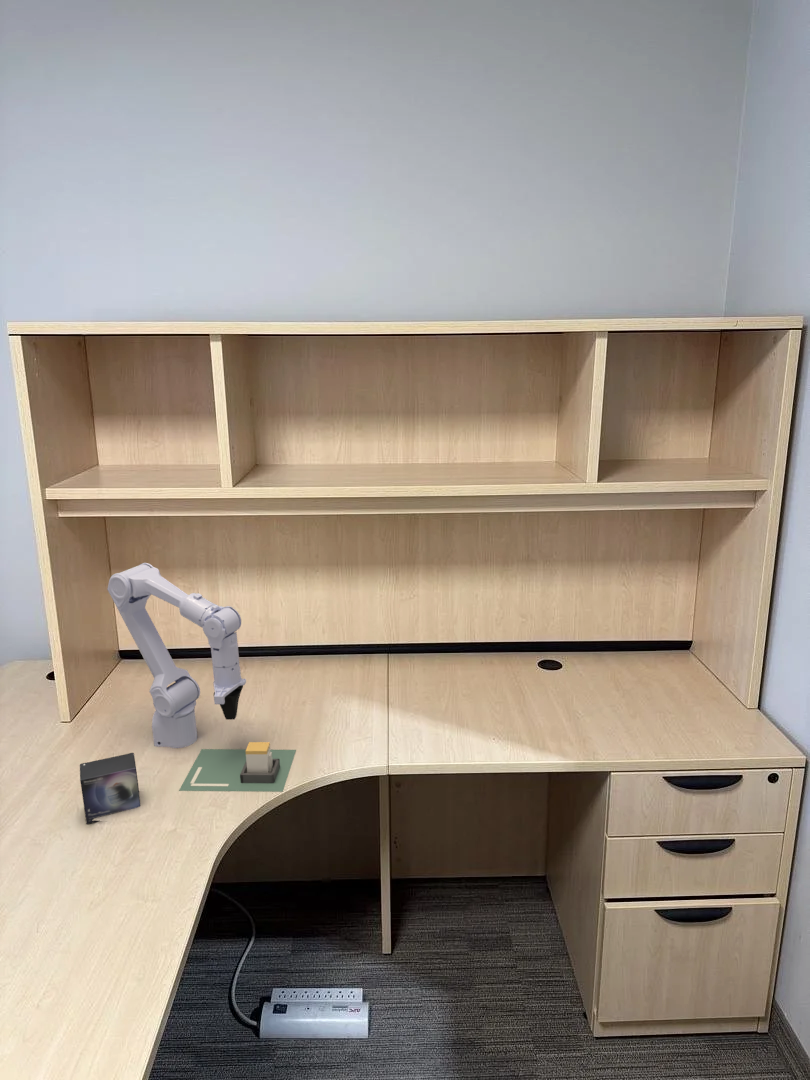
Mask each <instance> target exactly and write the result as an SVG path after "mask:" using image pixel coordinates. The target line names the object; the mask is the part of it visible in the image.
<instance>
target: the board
mask: <svg viewBox="0 0 810 1080" xmlns="http://www.w3.org/2000/svg"><path fill="white" fill-rule="evenodd" d="M246 749H247V748H246ZM246 749H244V748H240V749H239V748H238V749H237V748H231V749H229V748H201V749H200V751H199V753H198V755H197V757H196V759H195V760H194V762H193V763H192V766H191V768H190V769H189V771H188V773H187V775H186V777H185V778H184V780H183V783H182V784H181V785H180V788H179V789H178V792H257V793H258V792H260V793H262V792H264V793H265V792H266V793H267V792H269V793H274V792H275V793H282V792H283V791H284V789H285V785H286V783H287V779H288V777H289V773H290V771H291V768H292V764H293V761H294V758H295V755H296V752H297V749H270V751H271V752H272V761H273V770H272V773H247V763H246Z"/></svg>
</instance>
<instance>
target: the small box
mask: <svg viewBox="0 0 810 1080" xmlns="http://www.w3.org/2000/svg"><path fill="white" fill-rule="evenodd" d="M137 772H138V771H137V765H136V758H135V754H134V752H130V753H125V754H121V755H116V756H111V757H106V758H103V759H98V760H93V761H88V762H82V763H80V764H79V782H80V787H81V795H82V801H83V808H84V810H83V811H84V815H85V823H86V825H89V824H93V823H97V822H99V820H94V819H97V818H100V817H104V816H109V815H113V814H117V813H121V812H122V813H123V812H126V811H130V810H133V809H137V808H140V807H141V799H140V797H141V796H140V790H139V789H140V788H139V780H138V774H137Z"/></svg>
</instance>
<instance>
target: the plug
mask: <svg viewBox="0 0 810 1080" xmlns="http://www.w3.org/2000/svg"><path fill="white" fill-rule="evenodd" d="M270 750H271V742H270V741H268V742H267V741H265V742H264V741H255V742H254V741H249V742H248V744H247V747H246V763H247V773H272V770H273V761H272V752H271V751H270Z"/></svg>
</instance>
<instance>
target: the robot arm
mask: <svg viewBox="0 0 810 1080" xmlns="http://www.w3.org/2000/svg"><path fill="white" fill-rule="evenodd" d="M107 584H108V585H107V592H108V594H109V596H110V597H111V599H112V601H113V604H114V605H115V607H116V609H117V611H118V612H119V614H120V617H121V618H122V620H123V622H124V624H125V626H126V628H127V630H128V632H129V634H130V635H131V637H132V639H133V641H134V643H135V644H136V646H137V649H138V650H139V652H140V654H141V655H142V658H143V660H144V661H145V664H146V665H147V667H148V670H149V671H150V673H151V675H152V677H153V681H152V684H151V685H150V689H149V693H150V695H151V697H152V702H153V708H154V709H155V710H154V713H153V715H152V720H151V721H152V722H151V729H152V738H153V739H152V740H153V746H154V747H158V748H160V747H163V748H164V747H165V748H166V747H167V748H172V749H180V748H186V747H189V746H191V745H193V744H195V743H196V742H197V740H198V729H197V721H196V719H197V718H196V709H195V707H196V706H197V702H196V701H197V700H198V699H199V698H200V696H201V689H200V685H199V684H198V682H197V681H196V680H195V679H194V678H193V677H192V676H191V674H190V673H189V671H188V670H187V669H185V668H181V667H177V666H176V664H175V661H174V660H173V658H172V656H171V655H170V652H169V650H168V649H167V646H166V645H165V643H164V641H163V640H162V637H161V635H160V634H159V631H158V629H157V628H156V626H155V624H154V622H153V621H152V619H151V617H150V614H149V613H148V611H147V609H146V605H147V602H148V600H149V598H150V597H151V595H152V596H154V597H156V598H158V599H160V600H162V601H164V602H166V603H168V604H171V605H173V606H174V607H177V608H178V611H179V613H180V616H182V617H183V618H185V619H187V620H188V621H190V622H191V623H194V624H195V625H197V626H199V628H202V631H203V633H204V635H205V636H206V638H207V640H208V643H207V644H208V645H209V647H210V652H211V663H212V672H213V683H212V684H213V691H214V692H213V701H214V702H213V703H214V705H219V706H220V708H221V711H222V713H223V716H224V718H225V720H227V721H228V720H229V721H230V720H231V721H233V720H235V719H236V717H237V715H238V709H239V707H238V706H239V700H240V696H241V693H242V690H243V688H244V686H246V684H247V679H246V678H242V673H241V666H240V658H239V657H240V655H239V645H238V634H237V633H238V632H237V631H238V630H240V628H241V626H242V618H241V615H240V614H239V612H238V611H237V610H236V608H234V607H232V606H231V605H226V606H222V605H221V606H220V605H218V604H216V603H215V602H212V601H210V600H208V599H207V598H205V597H204V596H203V595H202V594H201V593H199V592H198V593H197V592H191V593H190V594H188V593H186V592H185V591H183V590H182V589H180V588H179V587H178V586H176V585H175V584H173V583H172V582H170V581H169V580H168V579H166V578H165V577H163V576H162V575H161V572H160V570H159V568H157V567H154V566H153V565H152V564H151V563H149V562H148V563H147V562H143V563H140V564H138V565H137V566H133V567H131V568H129V569H125V570H124V571H121V572H116V573H114V574H112V575H111V577H110V578H109V581H108V583H107Z"/></svg>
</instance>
